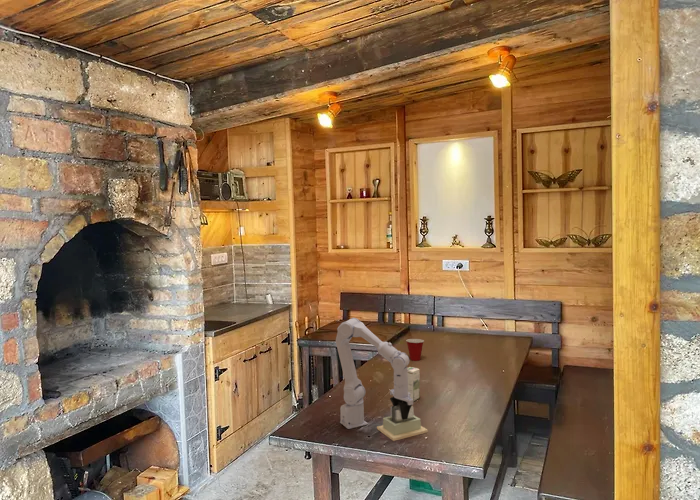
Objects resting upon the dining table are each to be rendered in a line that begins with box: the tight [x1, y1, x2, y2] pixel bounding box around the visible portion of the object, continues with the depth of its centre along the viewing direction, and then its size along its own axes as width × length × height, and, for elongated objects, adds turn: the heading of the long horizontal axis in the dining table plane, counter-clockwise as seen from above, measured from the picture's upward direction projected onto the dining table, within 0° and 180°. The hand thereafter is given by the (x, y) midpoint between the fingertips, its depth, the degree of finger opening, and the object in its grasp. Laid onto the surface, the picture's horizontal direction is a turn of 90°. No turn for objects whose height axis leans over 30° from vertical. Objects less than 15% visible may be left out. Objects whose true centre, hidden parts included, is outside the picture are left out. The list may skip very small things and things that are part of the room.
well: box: [376, 414, 429, 442], centre depth 211 cm, size 16×13×5 cm
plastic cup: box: [405, 338, 425, 362], centre depth 311 cm, size 11×11×12 cm
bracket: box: [390, 405, 415, 424], centre depth 211 cm, size 8×4×8 cm, turn 116°
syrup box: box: [408, 366, 421, 403], centre depth 246 cm, size 6×6×14 cm
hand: (401, 416), depth 211 cm, fingers closed on bracket, 4 cm apart
